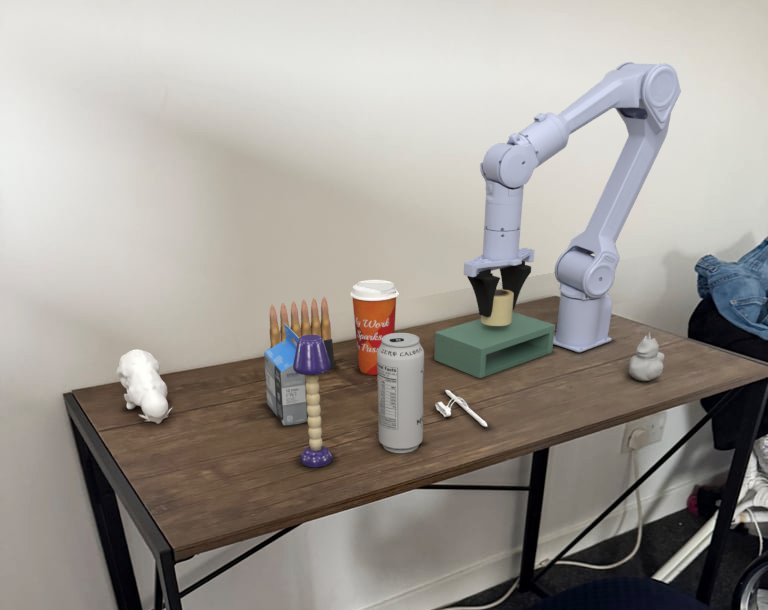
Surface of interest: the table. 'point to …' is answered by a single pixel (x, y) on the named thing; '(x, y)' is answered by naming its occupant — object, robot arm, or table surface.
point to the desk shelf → (493, 345)
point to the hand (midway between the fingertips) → (496, 312)
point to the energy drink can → (400, 392)
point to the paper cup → (373, 319)
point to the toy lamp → (313, 395)
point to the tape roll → (500, 309)
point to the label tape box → (285, 382)
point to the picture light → (446, 410)
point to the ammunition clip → (303, 325)
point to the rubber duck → (646, 360)
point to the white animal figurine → (143, 384)
